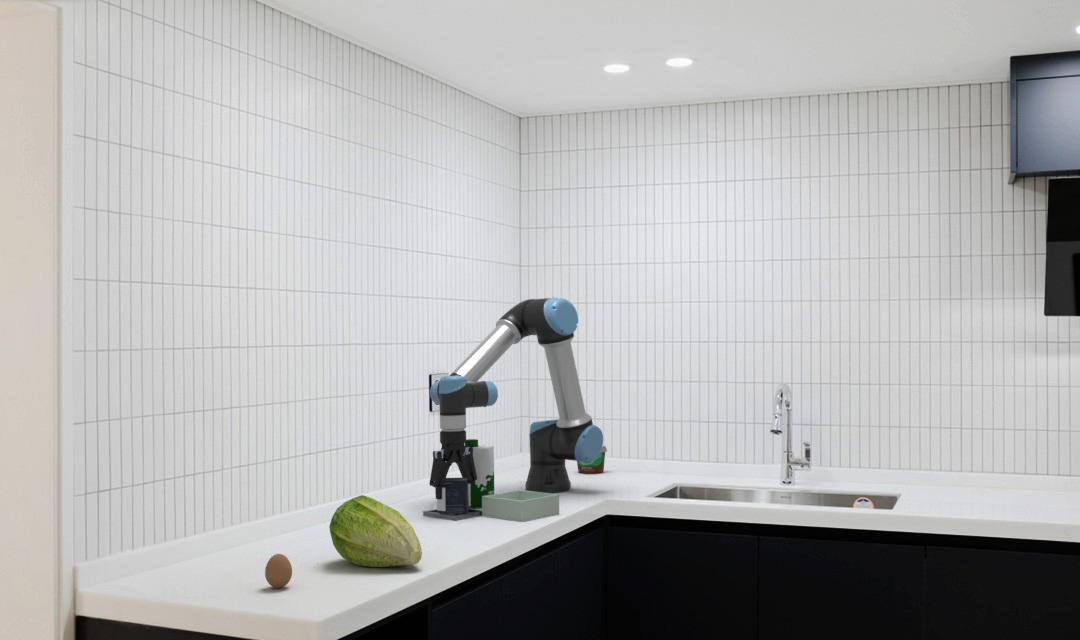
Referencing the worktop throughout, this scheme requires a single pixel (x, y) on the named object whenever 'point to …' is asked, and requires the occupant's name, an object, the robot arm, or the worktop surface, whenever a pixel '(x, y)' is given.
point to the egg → (278, 571)
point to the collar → (437, 514)
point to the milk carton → (481, 472)
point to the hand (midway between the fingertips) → (454, 508)
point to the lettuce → (373, 534)
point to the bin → (520, 505)
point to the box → (456, 496)
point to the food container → (593, 464)
